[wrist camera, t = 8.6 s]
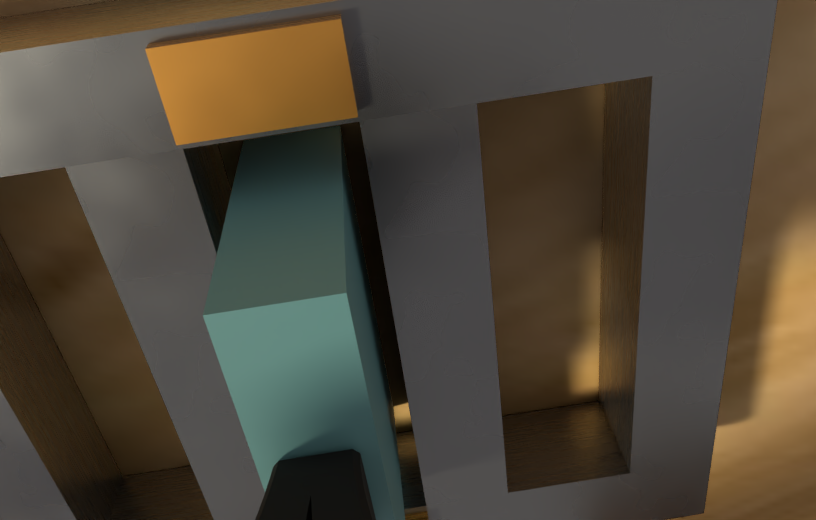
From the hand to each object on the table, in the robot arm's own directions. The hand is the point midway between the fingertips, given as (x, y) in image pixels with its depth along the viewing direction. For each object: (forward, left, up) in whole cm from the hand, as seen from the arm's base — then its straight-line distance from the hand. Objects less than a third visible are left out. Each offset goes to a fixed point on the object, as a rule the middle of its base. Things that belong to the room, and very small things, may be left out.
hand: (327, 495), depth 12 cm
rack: (0, 0, -6) cm, 6 cm away
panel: (0, 0, -6) cm, 6 cm away
